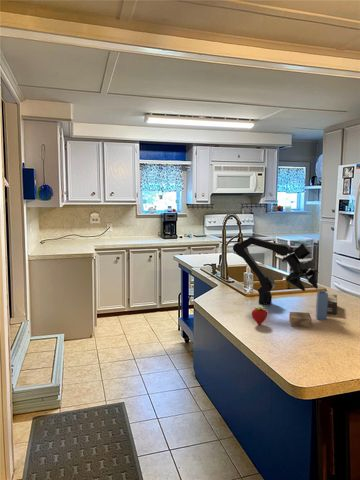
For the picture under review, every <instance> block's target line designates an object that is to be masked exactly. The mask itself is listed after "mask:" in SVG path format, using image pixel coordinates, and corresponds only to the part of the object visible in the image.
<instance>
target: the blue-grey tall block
mask: <svg viewBox="0 0 360 480" xmlns="http://www.w3.org/2000/svg"><path fill="white" fill-rule="evenodd" d="M328 294H329V293H328V291H326V290H324V289H320V290H316V299H315V300H316V301H315V303H316V305H315V318H316V320H319V321H320V320H322V321H327V319H328V313H327V305H328Z"/></svg>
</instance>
